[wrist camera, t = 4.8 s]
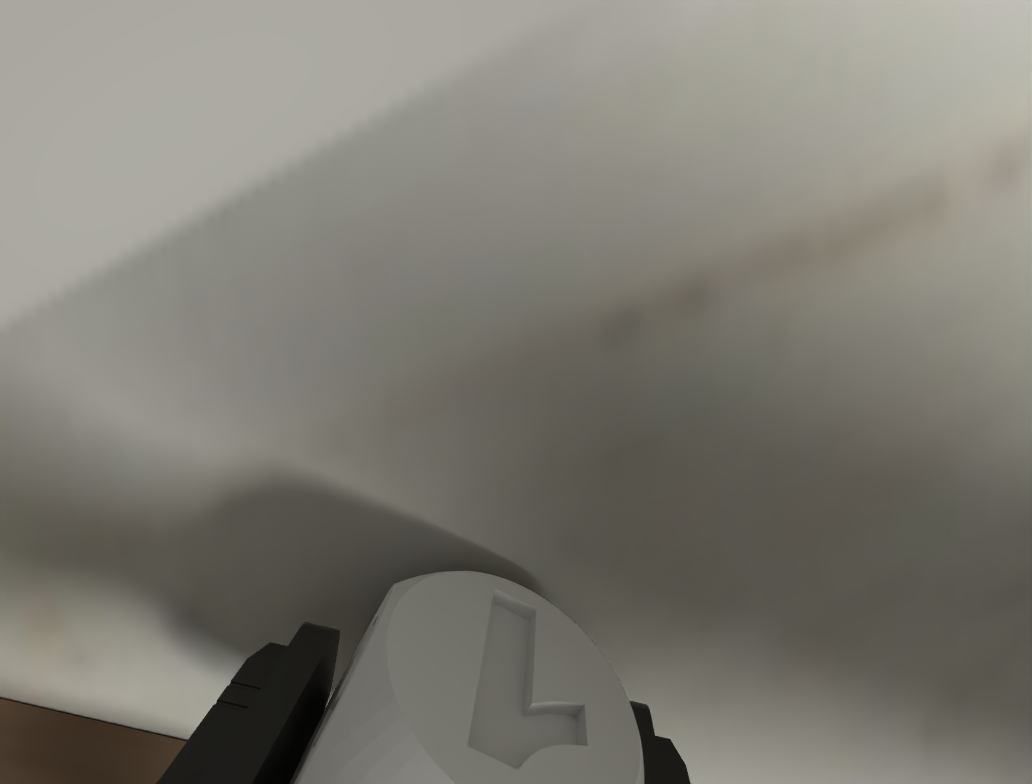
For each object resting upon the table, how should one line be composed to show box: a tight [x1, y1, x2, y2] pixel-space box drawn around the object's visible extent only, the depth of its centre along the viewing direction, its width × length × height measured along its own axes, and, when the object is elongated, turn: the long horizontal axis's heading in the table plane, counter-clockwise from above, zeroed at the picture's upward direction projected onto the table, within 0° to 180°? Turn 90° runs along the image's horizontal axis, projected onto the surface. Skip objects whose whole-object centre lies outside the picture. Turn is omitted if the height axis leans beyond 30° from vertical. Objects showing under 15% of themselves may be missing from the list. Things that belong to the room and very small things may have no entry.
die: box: [289, 571, 644, 784], centre depth 10 cm, size 5×5×5 cm
